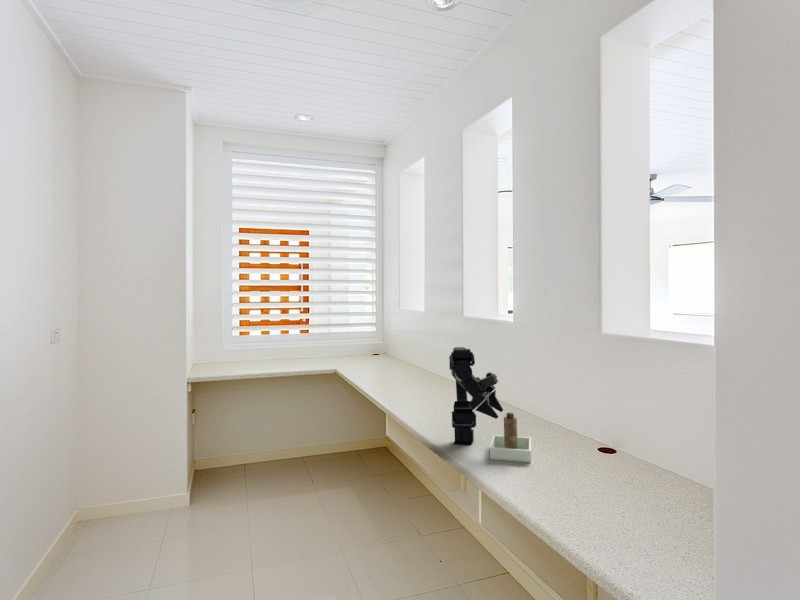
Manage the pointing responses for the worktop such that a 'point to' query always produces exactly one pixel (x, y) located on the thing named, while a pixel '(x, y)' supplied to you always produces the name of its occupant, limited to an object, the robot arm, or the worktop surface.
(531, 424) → the worktop surface
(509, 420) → the mill
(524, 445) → the bin
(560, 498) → the worktop surface
